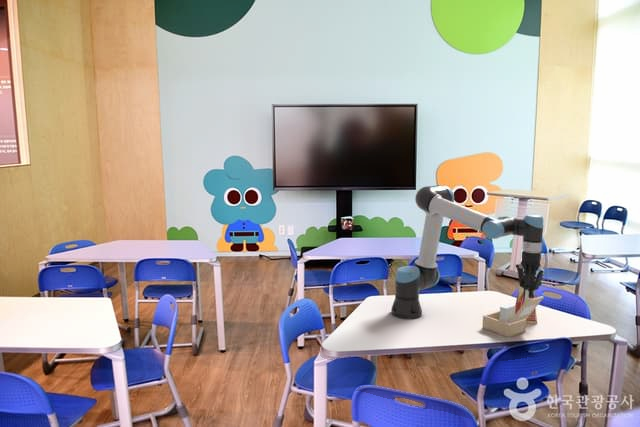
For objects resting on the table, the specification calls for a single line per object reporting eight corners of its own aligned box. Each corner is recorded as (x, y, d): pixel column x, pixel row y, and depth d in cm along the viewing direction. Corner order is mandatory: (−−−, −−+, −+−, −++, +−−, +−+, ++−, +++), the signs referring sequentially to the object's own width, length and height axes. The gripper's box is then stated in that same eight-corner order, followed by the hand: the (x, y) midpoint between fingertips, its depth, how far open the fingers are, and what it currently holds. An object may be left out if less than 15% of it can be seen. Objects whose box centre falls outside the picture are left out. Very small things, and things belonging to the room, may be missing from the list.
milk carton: (537, 323, 231) (540, 282, 228) (516, 321, 232) (519, 281, 230) (533, 316, 239) (535, 277, 237) (513, 315, 241) (515, 276, 239)
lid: (526, 300, 204) (527, 302, 204) (542, 295, 211) (544, 297, 210) (509, 322, 212) (510, 324, 211) (525, 317, 218) (526, 318, 218)
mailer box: (482, 328, 224) (483, 303, 222) (498, 323, 231) (499, 299, 229) (509, 337, 212) (510, 312, 211) (525, 332, 219) (526, 307, 218)
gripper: (512, 249, 210) (509, 301, 214) (540, 255, 200) (536, 310, 203) (523, 247, 215) (519, 298, 218) (550, 253, 204) (546, 307, 207)
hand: (527, 304), depth 210 cm, fingers closed
